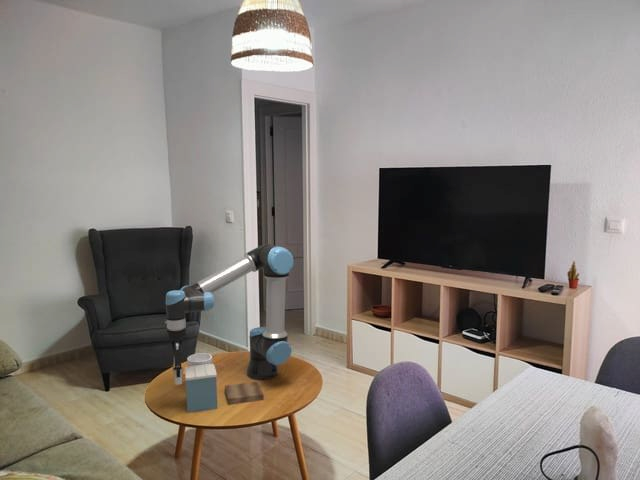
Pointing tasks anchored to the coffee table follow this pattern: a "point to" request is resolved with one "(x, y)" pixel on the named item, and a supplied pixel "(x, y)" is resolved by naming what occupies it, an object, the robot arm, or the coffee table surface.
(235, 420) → the coffee table surface
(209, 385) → the tub
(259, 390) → the board
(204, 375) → the lid
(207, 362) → the cup
